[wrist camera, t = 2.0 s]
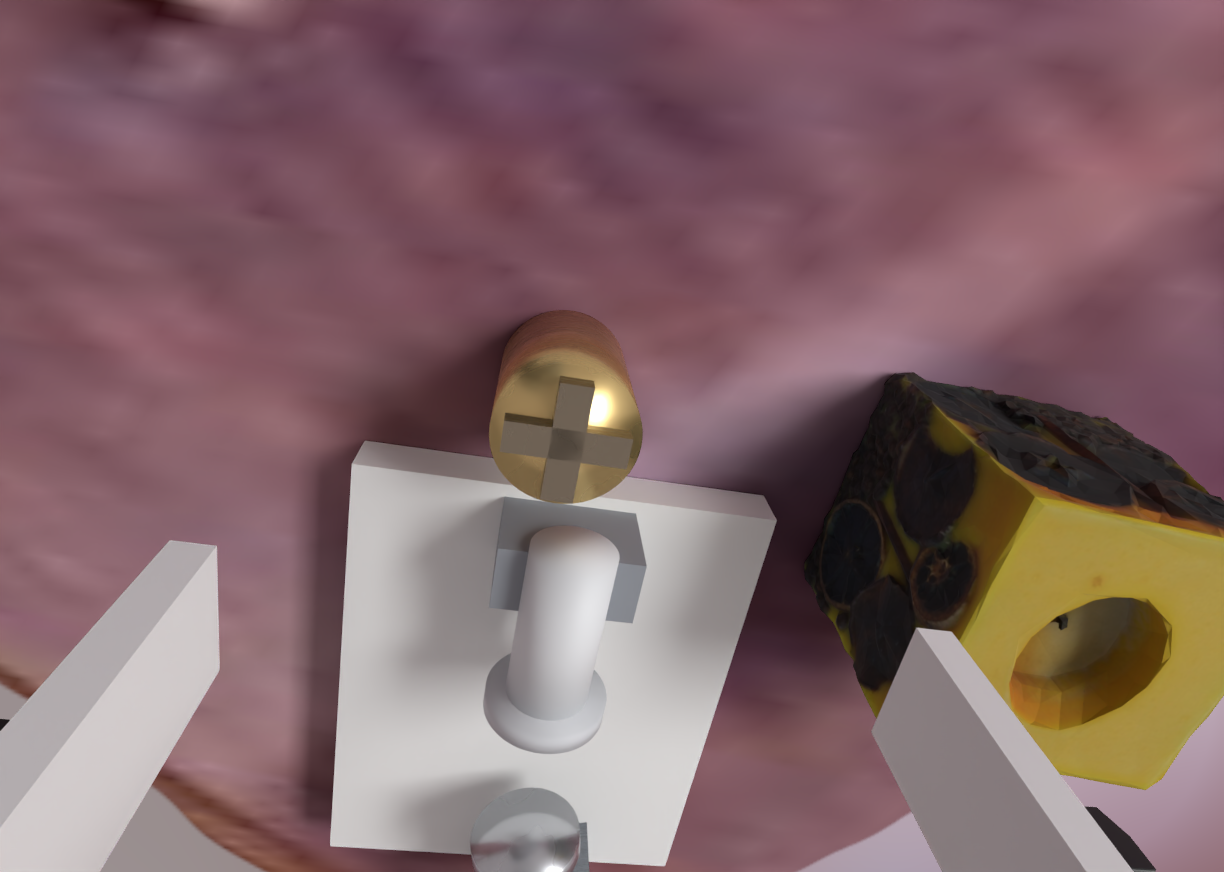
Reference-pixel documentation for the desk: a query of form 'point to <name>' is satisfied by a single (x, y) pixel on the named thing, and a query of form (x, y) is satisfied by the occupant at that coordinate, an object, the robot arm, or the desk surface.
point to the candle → (1033, 570)
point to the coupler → (564, 410)
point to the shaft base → (462, 639)
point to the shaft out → (529, 834)
